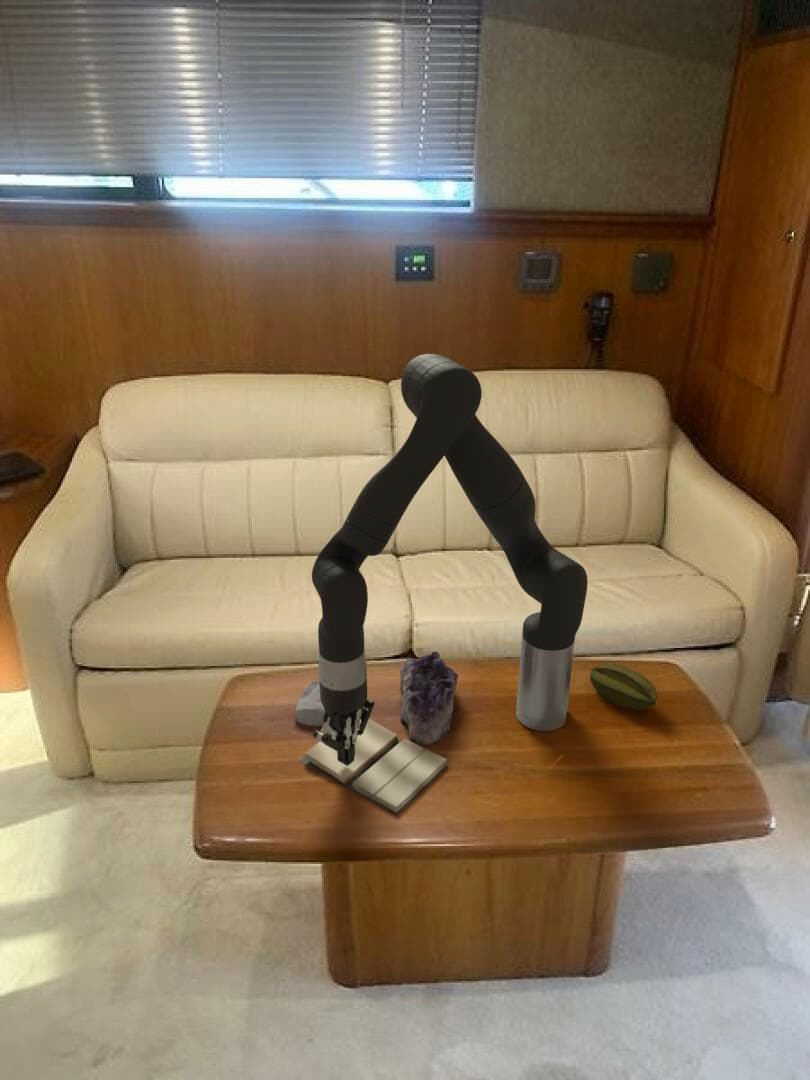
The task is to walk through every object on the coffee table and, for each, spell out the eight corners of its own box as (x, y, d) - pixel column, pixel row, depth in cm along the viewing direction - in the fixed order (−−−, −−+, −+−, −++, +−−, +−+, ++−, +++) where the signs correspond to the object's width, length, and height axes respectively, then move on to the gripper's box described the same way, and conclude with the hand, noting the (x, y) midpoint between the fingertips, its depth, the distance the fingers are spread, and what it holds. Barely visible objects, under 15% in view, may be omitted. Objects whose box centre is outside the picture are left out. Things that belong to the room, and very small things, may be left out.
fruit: (645, 685, 156) (650, 656, 153) (655, 722, 145) (660, 693, 142) (587, 680, 157) (590, 652, 154) (592, 717, 146) (596, 688, 144)
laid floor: (355, 718, 146) (355, 711, 145) (449, 765, 134) (449, 757, 133) (298, 762, 135) (298, 754, 134) (396, 817, 123) (396, 809, 122)
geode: (466, 748, 138) (460, 703, 134) (401, 755, 139) (393, 710, 135) (459, 678, 157) (454, 636, 152) (401, 684, 157) (394, 643, 153)
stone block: (294, 734, 145) (345, 731, 142) (288, 712, 143) (339, 709, 140) (313, 698, 155) (361, 695, 153) (307, 677, 154) (356, 674, 151)
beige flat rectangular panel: (357, 717, 144) (358, 712, 144) (398, 740, 139) (398, 735, 139) (305, 758, 134) (305, 752, 133) (346, 784, 129) (346, 779, 129)
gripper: (332, 704, 117) (337, 794, 124) (387, 663, 126) (388, 749, 134) (296, 686, 121) (302, 774, 128) (352, 648, 130) (355, 732, 138)
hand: (346, 761), depth 131 cm, fingers closed
